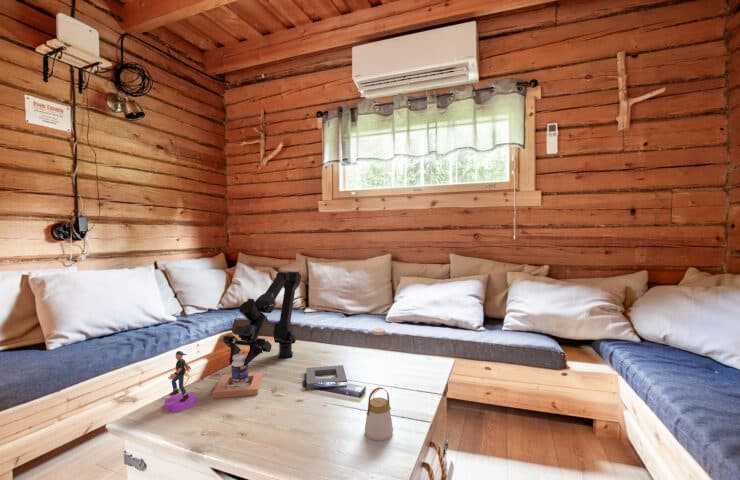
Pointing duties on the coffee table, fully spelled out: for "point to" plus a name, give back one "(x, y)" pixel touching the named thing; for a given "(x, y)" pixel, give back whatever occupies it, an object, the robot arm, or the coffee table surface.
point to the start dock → (324, 370)
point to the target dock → (223, 391)
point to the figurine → (182, 399)
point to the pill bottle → (239, 369)
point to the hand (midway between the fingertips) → (237, 364)
